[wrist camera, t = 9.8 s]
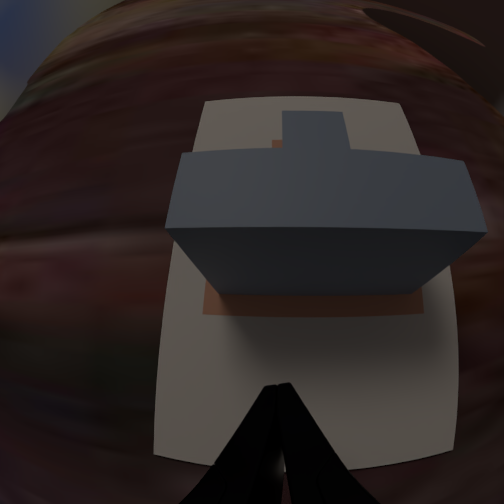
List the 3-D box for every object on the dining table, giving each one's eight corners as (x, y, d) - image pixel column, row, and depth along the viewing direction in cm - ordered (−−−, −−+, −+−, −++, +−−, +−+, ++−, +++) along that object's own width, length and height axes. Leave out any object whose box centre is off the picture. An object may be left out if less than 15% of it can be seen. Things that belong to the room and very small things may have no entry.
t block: (411, 293, 19) (487, 232, 10) (218, 293, 21) (164, 228, 11) (383, 147, 24) (408, 59, 15) (234, 144, 26) (213, 54, 17)
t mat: (450, 448, 14) (452, 449, 13) (156, 452, 17) (153, 454, 16) (398, 106, 27) (399, 103, 27) (206, 104, 30) (205, 101, 29)
